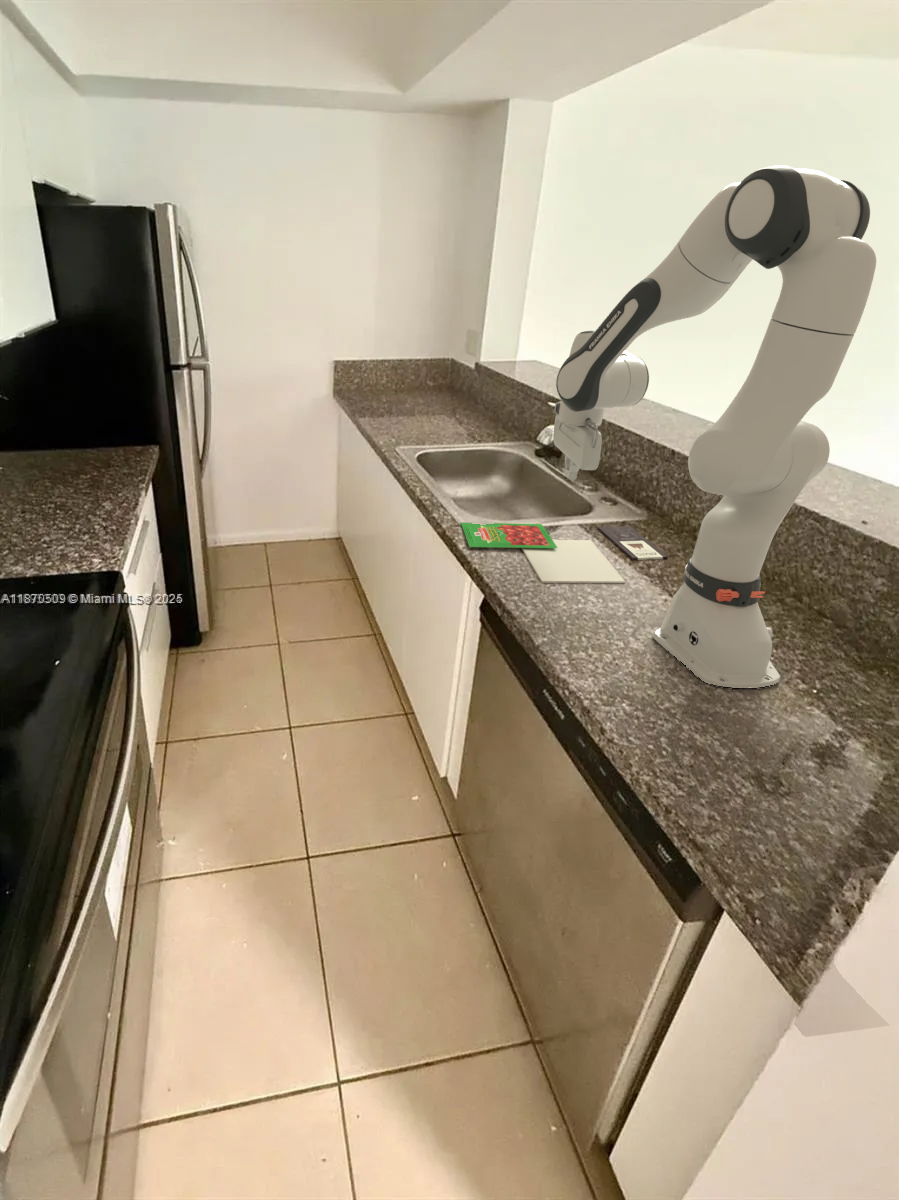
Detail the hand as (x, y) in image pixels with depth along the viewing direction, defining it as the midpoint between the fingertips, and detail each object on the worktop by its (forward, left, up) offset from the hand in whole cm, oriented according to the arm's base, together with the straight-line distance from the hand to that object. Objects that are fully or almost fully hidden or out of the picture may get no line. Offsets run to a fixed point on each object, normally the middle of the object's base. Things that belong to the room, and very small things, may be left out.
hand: (570, 477), depth 141 cm
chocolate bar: (+2, -19, -17) cm, 26 cm away
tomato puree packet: (+4, +1, -16) cm, 16 cm away
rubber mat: (-8, 0, -16) cm, 18 cm away
